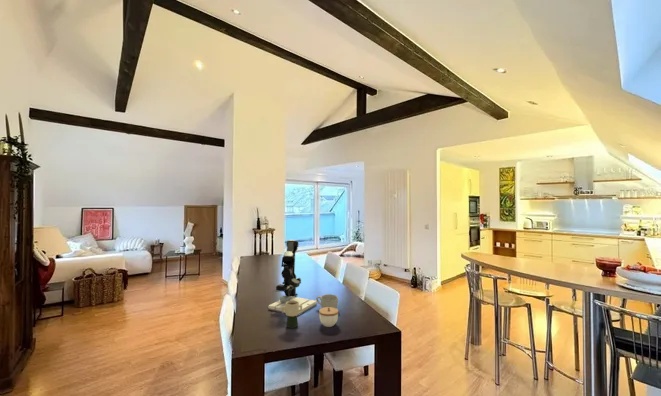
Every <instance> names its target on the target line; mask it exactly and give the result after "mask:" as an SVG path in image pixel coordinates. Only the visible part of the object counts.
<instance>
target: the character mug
mask: <svg viewBox="0 0 661 396" xmlns="http://www.w3.org/2000/svg"><path fill="white" fill-rule="evenodd" d="M299 307H300V310H299ZM284 308H286V311H284ZM299 311H302V305H299V302H298V301H287V302H286V306H285V307H282V312H281V313H282V314H285V315H286V316H287V317H286V327H287V328H289V329H294V328H296V327H298V325H299V323H298V316H299V315H298V313H299ZM296 315H298V316H296Z"/></svg>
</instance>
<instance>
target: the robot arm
mask: <svg viewBox="0 0 661 396" xmlns="http://www.w3.org/2000/svg"><path fill="white" fill-rule="evenodd" d="M299 245H300V244H299V241H298V240H294V239H288V240H286V251H285V252H284V254H283V256H282V258H281V268H282V267H283V269H282V271H281V274H280V275H281V277H282V278H283V281H282V282H281V283H282V284H281V283H280V284H278V285H276V286H275V290H276V291H281V292H284V296H294V297H297V295H298V293H297V291H296V289H297V288H299V287H300V284H302V278H301V277H298V278H297V275H296V274H295V272H296V271H295V269H296V268H295V267H296V252H297V251H298V248H299Z"/></svg>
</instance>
